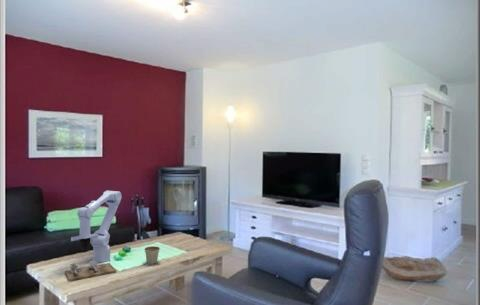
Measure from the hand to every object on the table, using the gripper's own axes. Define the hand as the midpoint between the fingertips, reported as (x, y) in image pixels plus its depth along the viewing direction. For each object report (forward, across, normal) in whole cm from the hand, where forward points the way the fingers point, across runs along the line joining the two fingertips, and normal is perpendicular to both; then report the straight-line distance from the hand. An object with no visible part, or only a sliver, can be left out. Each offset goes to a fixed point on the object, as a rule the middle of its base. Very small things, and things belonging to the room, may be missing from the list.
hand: (84, 251), depth 203 cm
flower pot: (+9, +36, -13) cm, 39 cm away
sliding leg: (+8, +3, -10) cm, 13 cm away
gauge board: (+10, +1, -10) cm, 14 cm away
